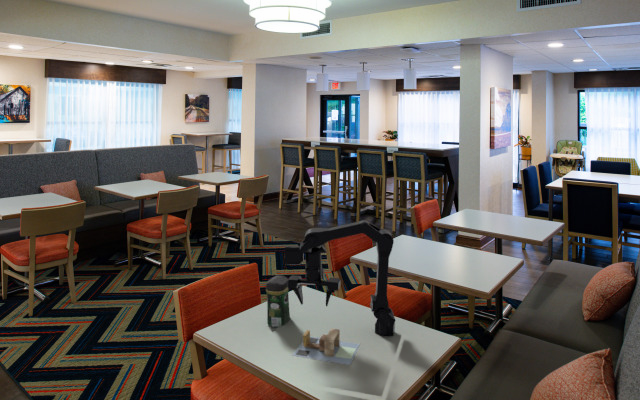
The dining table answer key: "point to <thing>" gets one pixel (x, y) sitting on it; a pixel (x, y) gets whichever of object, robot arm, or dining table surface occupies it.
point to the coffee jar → (277, 301)
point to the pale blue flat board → (341, 356)
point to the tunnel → (332, 341)
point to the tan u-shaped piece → (313, 345)
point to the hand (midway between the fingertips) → (314, 305)
